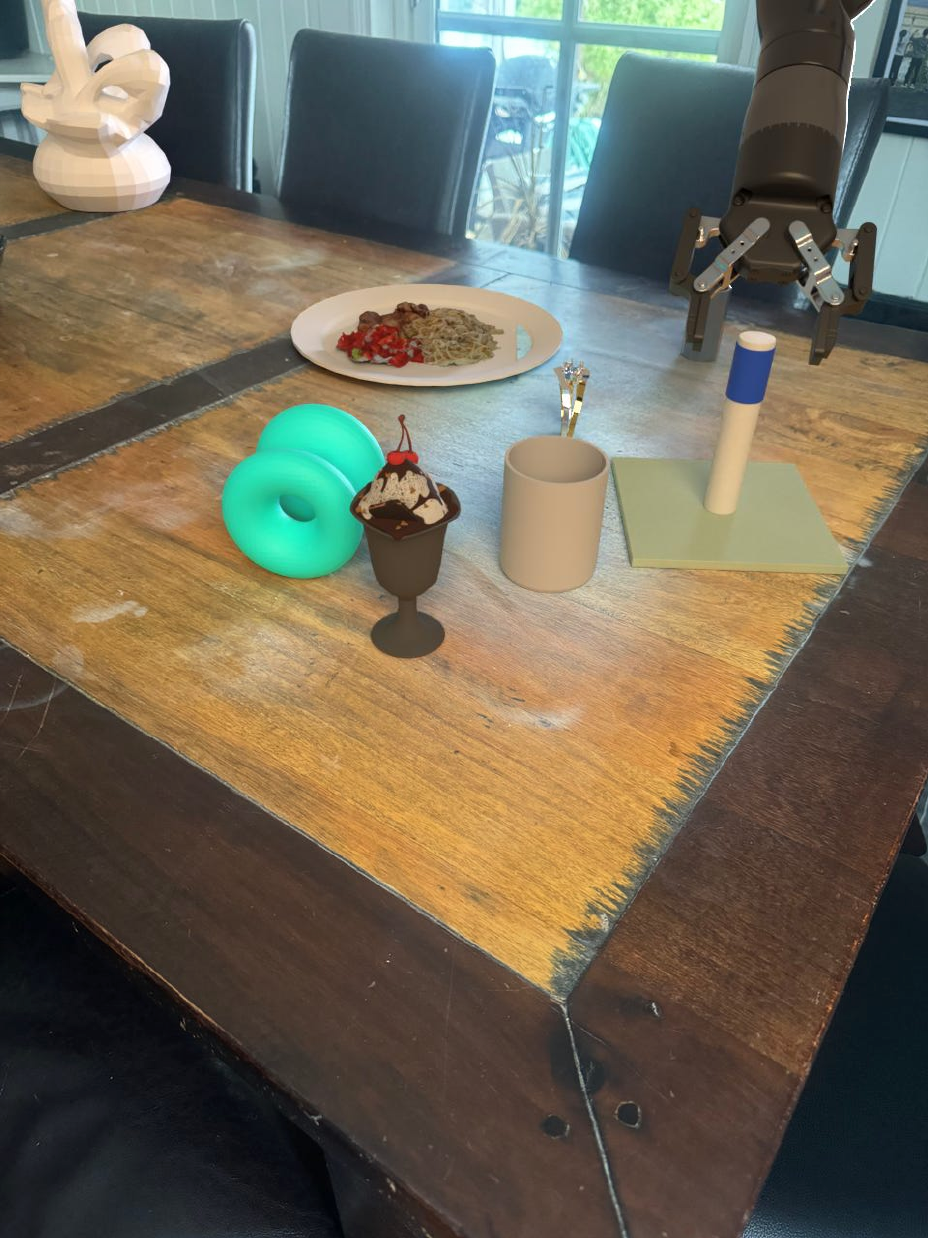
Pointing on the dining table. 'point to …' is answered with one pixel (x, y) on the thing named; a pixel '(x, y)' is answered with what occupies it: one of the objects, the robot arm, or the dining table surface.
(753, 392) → the marker
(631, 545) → the mat
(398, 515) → the sundae
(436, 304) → the plated food
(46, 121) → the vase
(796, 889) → the dining table surface
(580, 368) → the ring
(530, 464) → the cup
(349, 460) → the donuts
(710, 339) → the grey hollow cylinder
